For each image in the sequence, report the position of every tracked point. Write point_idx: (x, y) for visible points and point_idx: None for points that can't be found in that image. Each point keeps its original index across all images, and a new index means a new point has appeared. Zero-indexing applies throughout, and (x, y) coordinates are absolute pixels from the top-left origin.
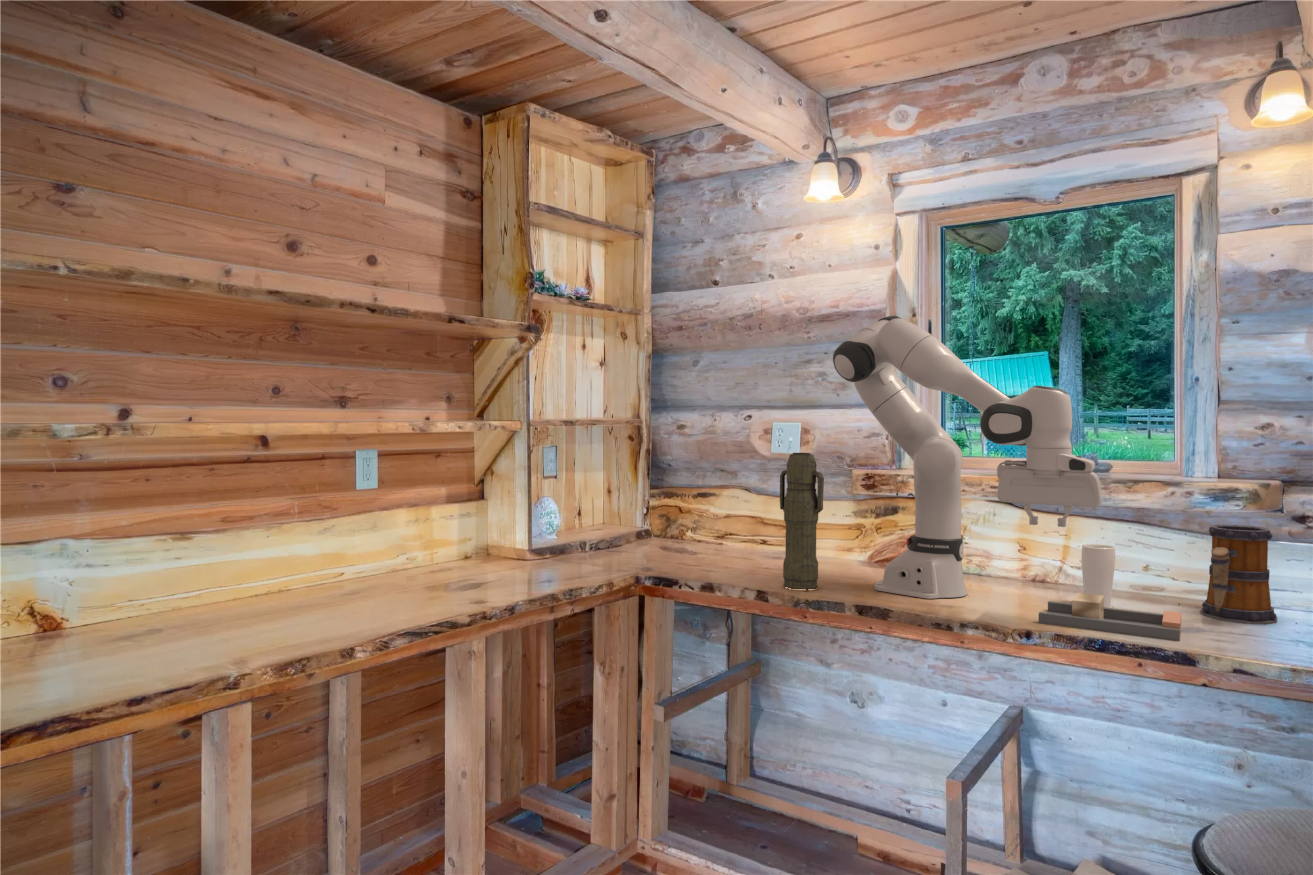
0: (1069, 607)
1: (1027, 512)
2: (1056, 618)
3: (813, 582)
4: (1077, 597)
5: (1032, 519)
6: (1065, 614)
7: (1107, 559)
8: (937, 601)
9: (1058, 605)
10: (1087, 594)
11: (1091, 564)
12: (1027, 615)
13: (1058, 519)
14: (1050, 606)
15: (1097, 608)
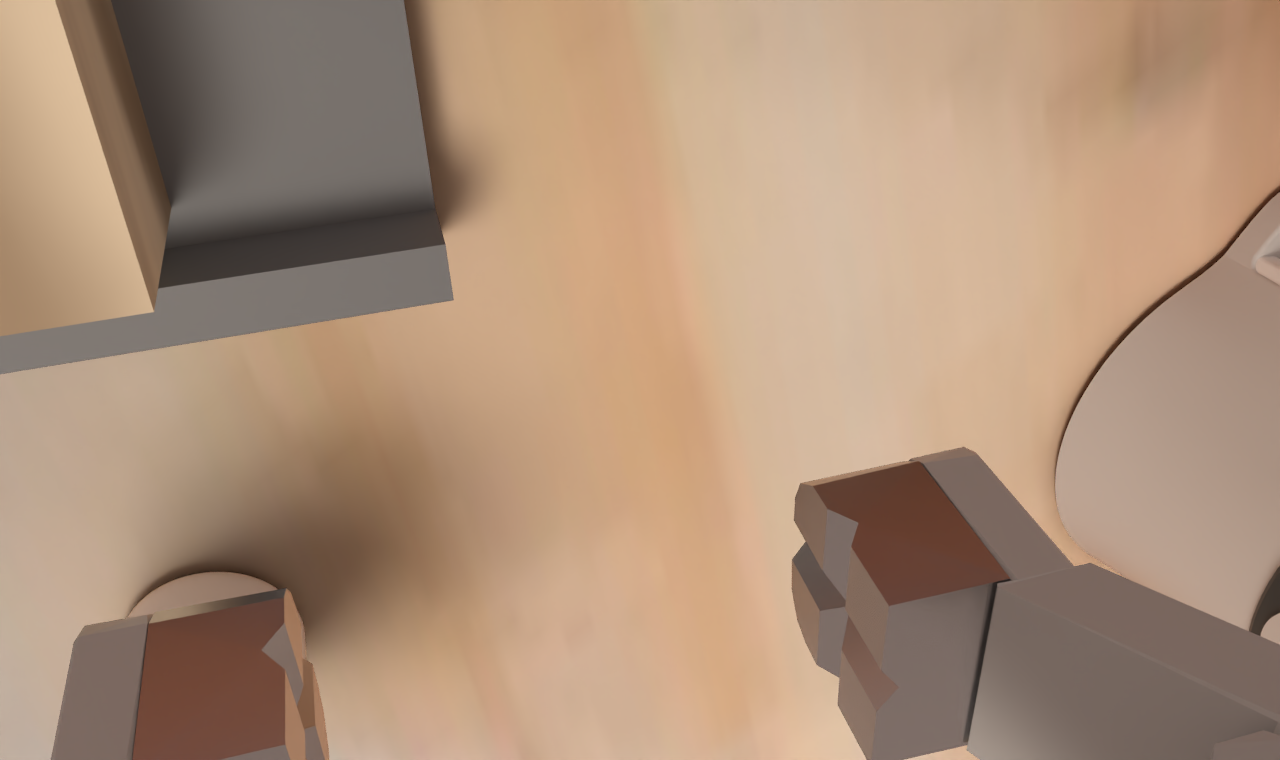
0: (255, 262)
1: (1202, 629)
2: None
3: None
4: (32, 44)
5: (957, 534)
6: (270, 183)
7: None
8: (1229, 165)
9: (351, 250)
10: (34, 293)
11: None
12: (585, 164)
13: (263, 729)
14: (418, 232)
15: None
